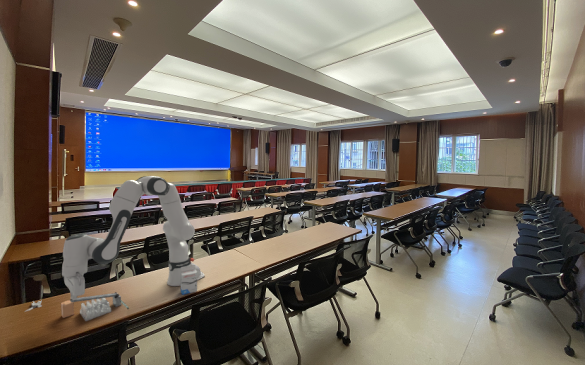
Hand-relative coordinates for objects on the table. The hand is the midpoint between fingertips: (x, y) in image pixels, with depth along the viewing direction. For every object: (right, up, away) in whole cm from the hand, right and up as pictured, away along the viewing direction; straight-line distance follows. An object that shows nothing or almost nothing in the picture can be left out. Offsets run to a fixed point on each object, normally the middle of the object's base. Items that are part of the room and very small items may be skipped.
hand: (73, 299), depth 116 cm
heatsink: (+6, -10, +9) cm, 15 cm away
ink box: (+41, -10, +30) cm, 52 cm away
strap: (+5, -3, +7) cm, 9 cm away
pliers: (-29, -11, +11) cm, 33 cm away
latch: (-6, -10, +4) cm, 12 cm away
